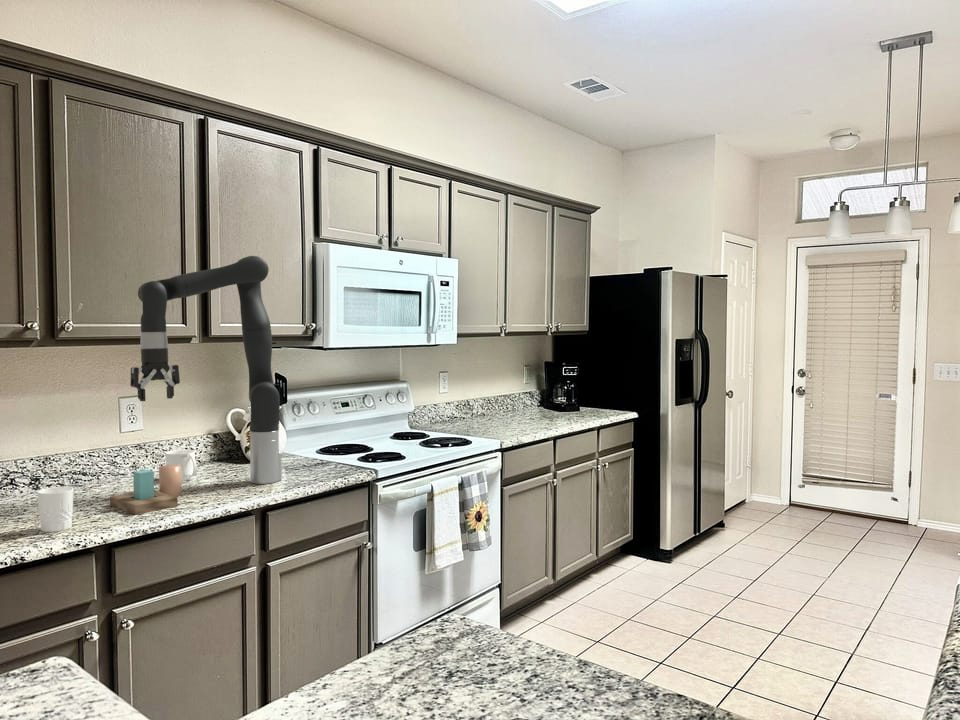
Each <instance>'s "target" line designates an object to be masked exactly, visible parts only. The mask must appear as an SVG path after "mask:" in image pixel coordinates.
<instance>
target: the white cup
mask: <svg viewBox="0 0 960 720" xmlns="http://www.w3.org/2000/svg"><path fill="white" fill-rule="evenodd" d="M36 493H37V506H38V516H39V521H40V531H41V532H43V533H55V532H62V531H66V530H70V529H71V528H72V526H73V512H74V487H72V486H55V487H54V486H53V487H47V488H42V489H39V490H37V492H36Z"/></svg>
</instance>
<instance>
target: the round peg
mask: <svg viewBox="0 0 960 720" xmlns="http://www.w3.org/2000/svg"><path fill="white" fill-rule="evenodd" d="M158 481H159V482H158V483H159V484H158V485H159V487H158V488H159V491H158V492H161V493H165V494H168V495H171V496H174V497H180V496H182V494H183V493H182V481H181V465H166V464H165V465H161V466H159V467H158Z"/></svg>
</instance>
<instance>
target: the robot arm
mask: <svg viewBox="0 0 960 720" xmlns="http://www.w3.org/2000/svg"><path fill="white" fill-rule="evenodd" d="M269 271H270V269H269V265H268V263H267V261H266V260H264V259H263V258H261V257H260V256H256V255H248V256H245V257H243V258H240V259H239V260H238V261H237V262H234V263H231V264H228V265H225V266H220V267H216V268H210V269H204V270H198V271H197V270H196V271H191V272H187V273H183V274H179V275H176V276H172V277H169V278H165V279H158V280H151V281H147V282H144V283H143V284H141V285H140V286H139V288H138V290H137V296H138V300H140V301H141V303H142V313H141V316H140V332H141V333H140V360H141V361H140V362H141V367H138V366H137V367H136V366H132V367H131V368H130V387H131V388H135V389H137V398H138V400H139V402H146V400H147V399H146V389H145V388H146V386H147V384H148V383H150V381H157V380H158V381H162V382H164V384H165V385H166V398H167V399H168V400H169V399H173V397H174V396H175V386H176V385H177V384H180V383H181V380H180V370H179V365H178V364H171V365H169V364H168V363H169V344H168V343H169V341H168V336H167V320H166V318H167V317H166V316H167V315H166V313H167V306H168V305H167V303H168V301H172V300H174V299H175V300H176V299H183V298H187V297H192V296H197V295H201V294H204V293H207V292H211V291H213V290H217V289H220V288H224V287H228V286H233V285H236V286H237V287H236V288H237V291H238V297H239V303H240V304H239V305H240V306H239V307H240V319H241V330H242V331H241V332H242V342H243V347H244V353H245V358H246V363H247V368H248V399H249V401H250V422H249V447H250V448H249V452H250V453H249V457H250V458H249V461H250V462H249V464H250V470H249V472H250V473H249V474H250V483H251V484H258V485H265V484H275V483H277V482H279V481H282V478H283V477H282V474H283V473H282V452H281V451H280V440H279V435H280V434H279V430H280V420H281V419H280V416H281V415H280V412H281V411H280V410H281V408H280V407H281V405H280V404H281V403H280V402H281V400H280V398H281V397H280V396H281V395H280V393H279V390H278V388H276V386H275V384H274V378H273V373H272V372H273V371H272V355H273V354H272V353H273V335H272V328H271V327H272V325H271V322H270V318H269V315H268V312H267V310H266V307H265V305H264V302H263V298H262V297H263V296H262V289H261V288H262V286H261V285H262V282H263V281H264V280H265V279H266V278H267V277H268V274H269ZM168 372H170V374H171V375H170V374H168ZM141 373H142V376H141V378H140V377H139V375H140V374H141ZM139 378H140V379H139Z"/></svg>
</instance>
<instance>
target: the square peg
mask: <svg viewBox="0 0 960 720" xmlns="http://www.w3.org/2000/svg"><path fill="white" fill-rule="evenodd" d="M154 475H155V471H154V470H151V469H142V470H135V471H133V475H132V476H133V492H134V499H136V500H143V499H149V498H154V490H155V476H154Z"/></svg>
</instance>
